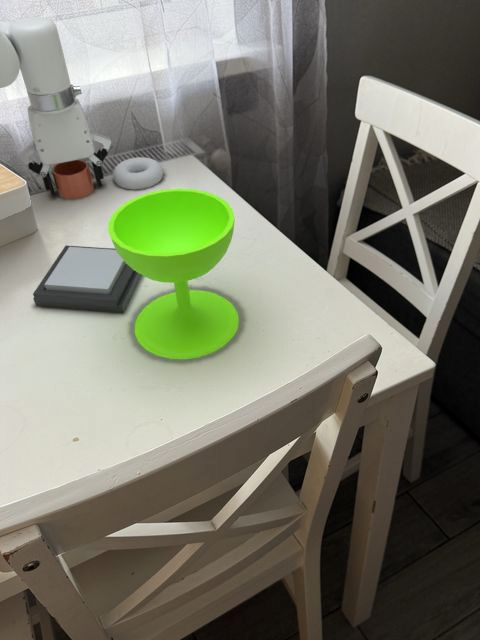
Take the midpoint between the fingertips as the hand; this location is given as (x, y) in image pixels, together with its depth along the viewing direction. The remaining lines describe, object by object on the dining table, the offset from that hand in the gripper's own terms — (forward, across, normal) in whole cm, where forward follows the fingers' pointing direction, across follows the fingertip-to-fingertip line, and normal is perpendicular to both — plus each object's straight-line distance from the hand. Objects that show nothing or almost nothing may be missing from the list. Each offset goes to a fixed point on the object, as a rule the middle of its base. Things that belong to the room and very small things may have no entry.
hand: (76, 187), depth 116 cm
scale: (+1, +2, +32) cm, 32 cm away
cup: (+1, 0, 0) cm, 1 cm away
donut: (+2, -12, 0) cm, 12 cm away
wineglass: (+2, -9, +47) cm, 48 cm away
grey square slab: (-1, +2, +32) cm, 32 cm away
